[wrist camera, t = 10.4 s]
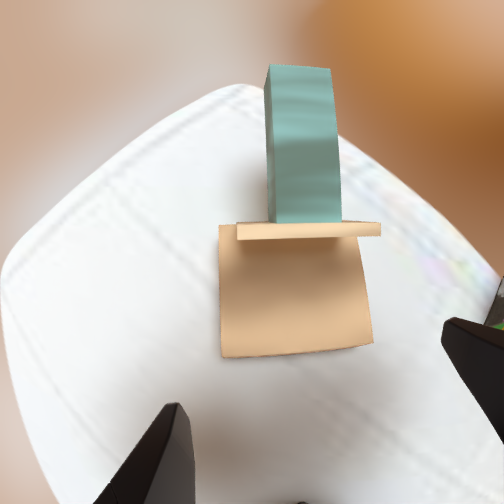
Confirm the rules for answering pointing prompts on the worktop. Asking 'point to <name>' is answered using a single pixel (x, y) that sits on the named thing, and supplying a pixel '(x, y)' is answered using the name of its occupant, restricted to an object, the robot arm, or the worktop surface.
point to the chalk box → (497, 310)
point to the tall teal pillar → (302, 160)
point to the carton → (291, 295)
